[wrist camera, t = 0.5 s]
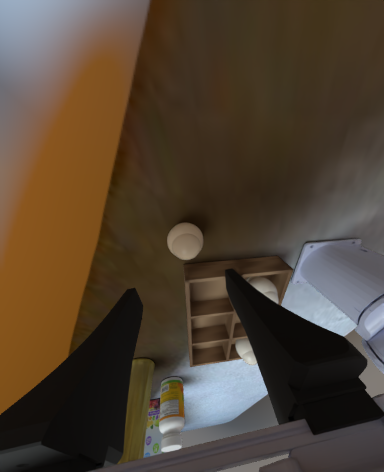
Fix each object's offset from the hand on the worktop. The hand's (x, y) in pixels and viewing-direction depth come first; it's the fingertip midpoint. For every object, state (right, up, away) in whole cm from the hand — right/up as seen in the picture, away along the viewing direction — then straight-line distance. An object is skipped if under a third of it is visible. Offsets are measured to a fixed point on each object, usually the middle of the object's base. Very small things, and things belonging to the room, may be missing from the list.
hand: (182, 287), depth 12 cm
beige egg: (0, +5, +7) cm, 9 cm away
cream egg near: (+10, -3, +11) cm, 16 cm away
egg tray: (+7, -9, +15) cm, 19 cm away
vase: (-11, -24, +20) cm, 33 cm away
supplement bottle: (-4, -32, +25) cm, 41 cm away
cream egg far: (+11, -16, +18) cm, 26 cm away
